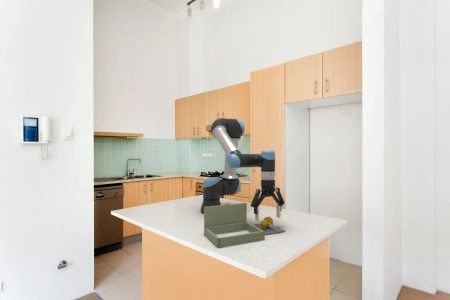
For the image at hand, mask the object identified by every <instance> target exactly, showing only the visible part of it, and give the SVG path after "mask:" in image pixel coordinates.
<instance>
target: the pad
mask: <svg viewBox="0 0 450 300" xmlns="http://www.w3.org/2000/svg"><path fill="white" fill-rule="evenodd" d="M253 225H254V226H256V227H257V228H259V229H261V230H263V231H265V236H271V235H276V234H282V233H286V230H284V229H282V228H281V227H280V228H281V231H280V232H278V231H279V230H280V228H279V227H277V230H278V231H276V229H273V228H271V227H267V226H266V229H264V228H263V227H261V225H260V223H256V224H253Z"/></svg>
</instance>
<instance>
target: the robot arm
mask: <svg viewBox="0 0 450 300" xmlns="http://www.w3.org/2000/svg"><path fill="white" fill-rule="evenodd" d="M245 130H246V129H245V124H244V122H243V120H241V119H240V118H239V119H238V118H225V117H223V118H222V117H220V118H216V119H215V120H214V121H213V122H212V124H211V126H210V132H211V135H212V136H213V138H214V139H216V140H217V142H218V143H219V145H220V146H221V149H222V150H223V151H224V154H225V155H224V168H223V169H224V170H223V174H222V175H221V178H220V177H218V176H213V177H208V178H205V179H204V180H203V181H202V203H201V207H200V213H201V214H203V215H204V207H209V206H219V205H222V203H221V197H224V196H225V197H226V196H235V195H237V194H239V193H240V191H241V188H242V183H241V179H240V178H239V176H238V175H237V169H238V168H260V187H261V188H256V189H255V194H254V195H253V197H252V201H251V203H250V207H251V208H253V214H254V219H255V221H257V222H260V208H259V207H260V205H261V204H262V202H263V201H264V199H266V198H269V197H272V199H273V200H274V202H275V203H276V209H275V211H276V213H275V214H276V215H275V216H276V218H278V219H281V212H282V207H283V205H285V200H284V198H283V195H282V193H281V188H280V187H277V186H276V152H275V150H261V151H260V153H242V152H241V151H240V149H239V141H240V140H241V139H242V138H241V137H243V136H244V134H245Z"/></svg>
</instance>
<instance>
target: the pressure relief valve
mask: <svg viewBox="0 0 450 300" xmlns="http://www.w3.org/2000/svg"><path fill="white" fill-rule="evenodd" d="M259 224H260V225H261V227H263V228H264V229H266V226H267V227H271V228H273V229H276V231H278V230H277V227H278V228H280V230H279V231H278V232H280V231H281V229H282V227H280V226H279V225H274V219H273V218H272V217H271V216H265V217H264V218H263V220H261V221H259Z"/></svg>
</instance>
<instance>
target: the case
mask: <svg viewBox="0 0 450 300" xmlns="http://www.w3.org/2000/svg"><path fill="white" fill-rule="evenodd" d="M247 205H248V203H247V202H242V203H241V202H240V203H230V201H229V202H222V203H221V205H219V206H209V207H204V214H203V236H205V238H207V239H208V240H209V241H210V242H211V243H212V244H213V245H214V246H215V247H216V248H217V249H221V248H227V247H231V246H237V245H238V246H239V245H244V244H248V243H255V242H259V241H260V242H261V241H266V240H265V239H266V238H265V237H266V235H265V231H263V230H261V229H259V228H257V227H256V226H254V225H255V224H252V223H250V222H248V221H247V219H248V218H247V216H248V215H247V213H248V209H247V208H248V206H247ZM241 231H242V232H243V231H247V232H248V233H241V234H235V235H229V236H222V237H219V236H218V235H224V234H229V233H236V232H241Z"/></svg>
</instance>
